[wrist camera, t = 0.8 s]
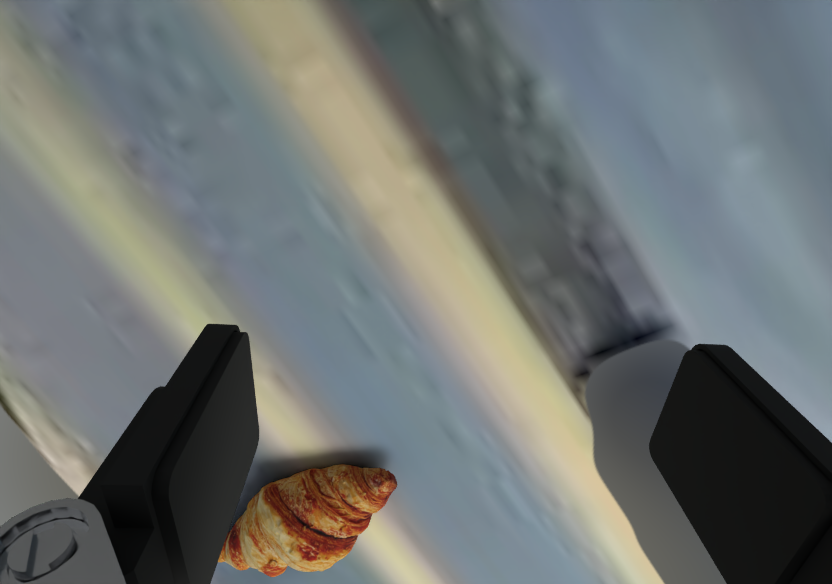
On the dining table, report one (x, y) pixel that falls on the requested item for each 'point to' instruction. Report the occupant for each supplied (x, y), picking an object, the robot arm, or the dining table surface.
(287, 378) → the dining table surface
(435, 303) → the dining table surface
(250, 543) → the croissant
